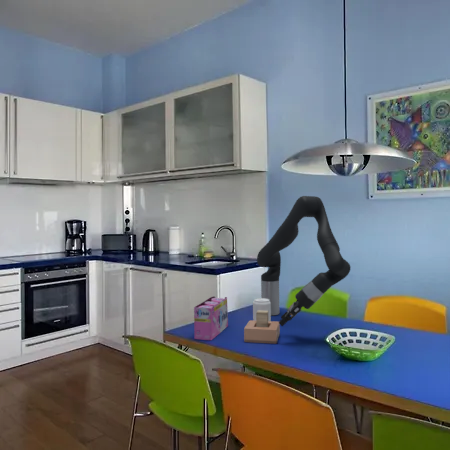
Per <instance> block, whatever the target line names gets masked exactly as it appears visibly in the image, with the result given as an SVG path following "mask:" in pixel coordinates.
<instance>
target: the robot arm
mask: <svg viewBox="0 0 450 450" xmlns="http://www.w3.org/2000/svg"><path fill="white" fill-rule="evenodd" d="M303 218H313V219H315V220H316V222H317V227H318V228H317V232H316V240H317V242H318V243H317V244H318V246H319V248H320V250H321V252H322V254H323V257H324V261H325V264H326V267H327V269H328V270H326V271H325V272H320V273H318V274H317V275H316V276H315V277H314V278H313V279H311V280H310V281H309V282H308V283H307V284H305V285H304V286H303V287H302V288H301V289H300V290H299V291H298V292H297V293H296V294H295V296H294V297H295V299H296V300H295V301H294V302H292V304H291V305H290V306H289V307H288V308H287V310H286V311H285V312H284V313H283V314H282V315H281V316H280V318H281V319H280V320H279V321H278V322H279V324H280V326H281V327H283V326H285V325H286V324H287V323H288V322H289V321H292V320H293V318H295V317H296V316H297V314H299V313H300V312H301V311H302V308H304V309H306V310H309V309H310V308H311V307H312V306H314V305H315V304H316V303H317V302H318V301H319V300H320V299H321V298H322V296H323V295H324V294H325V293H326V292H327V291H329V289H330V288H331V287H332V286H335V285H336V284H337V283H339V282H341V281H343V280H344V279H345V278H347V276H348V275H350V272H351V267H352V266H351V264H350V262H348V261H347V260H346V259H345V258H344V257H343V256H342V254H341V252H340V250H341V248H340V246H339V244H338V241H337V240H336V238H335V236H334V233H333V231H332V228H331V226H330V222H329V217H328V214H327V211H326V208H325V205H324V203H323V201H322V199H321V198H320V197H318V196H311V195H302V196H299V198H298V199H297V200H296V201H295V202H294V204H293V206H292V208H291V210H290V211H289V213H288V215H287V216H286V218H285V219H284V220H283V222H282V223H281V225H279V227H278V228H277V230H276V231H275V233H274V234H273V235H272V237H271V238H270V239H269V241H268V242H267V243H266V244H265V245H264V246H263V247H262V248H261V249H260V250H259V252H257V253H258V254H257V256H256V262H257V265H258V266H259V267H261V268H268V270H267V271H265V272H264V273H262V274H261V275H260V287H261V288H260V289H261V290H260V291H261V292H260V293H261V294H260V295H261V296H260V298H266V299H269V301H270V303H271V316H277V315H280V276H281V265H282V264H281V263H282V261H281V254H280V251H282V250H284V249H286V248H288V247H290V245H291V244H292V243H294V241H295V240H296V239H297V237H298V236H299V224H300V221H302V219H303Z"/></svg>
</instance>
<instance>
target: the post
mask: <svg viewBox="0 0 450 450" xmlns="http://www.w3.org/2000/svg"><path fill="white" fill-rule="evenodd" d="M256 327H268V311H261V310H258V311H257V313H256Z"/></svg>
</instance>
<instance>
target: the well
mask: <svg viewBox="0 0 450 450" xmlns="http://www.w3.org/2000/svg"><path fill="white" fill-rule="evenodd" d="M280 326H281V325H280V324H279V321H277V320H276V321H274V320H273V321H272V320H271V321H268V327H256V321H254V320H253V319H252V320H249V321H248V322H247V324H246V325H245V326H244V328H243V340H244V341H243V342H244V343H256V344H271V345H272V344H274V345H276V344H278V342H279V341H278V340H279V338H280V335H281V334H280V333H281V331H280V330H281V327H280Z"/></svg>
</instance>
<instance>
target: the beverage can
mask: <svg viewBox="0 0 450 450" xmlns="http://www.w3.org/2000/svg"><path fill="white" fill-rule="evenodd" d="M258 310H261V311H268V321H272V319H271V318H272V317H271V316H272V315H271V303H270V301H269V299H266V298H261V297H260V298H254V299H253V302H252V320H254V321H256V313H257V311H258Z"/></svg>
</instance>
